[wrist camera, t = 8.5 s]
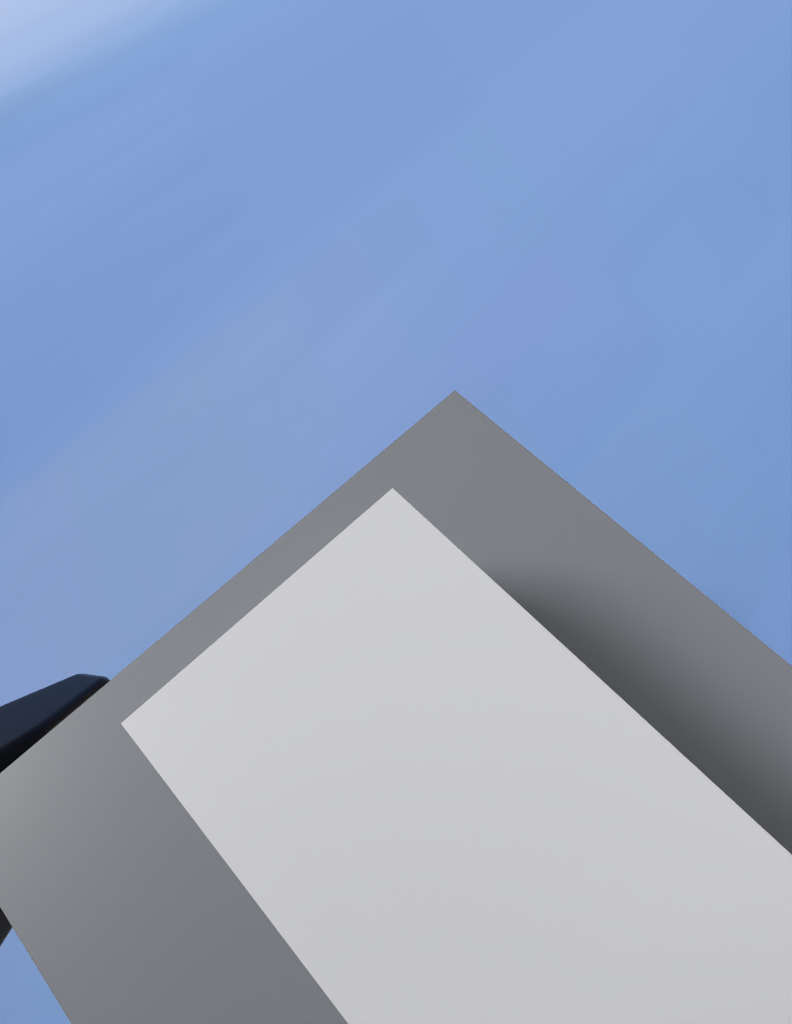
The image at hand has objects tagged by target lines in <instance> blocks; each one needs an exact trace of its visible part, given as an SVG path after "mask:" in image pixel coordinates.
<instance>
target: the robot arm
mask: <svg viewBox="0 0 792 1024" xmlns="http://www.w3.org/2000/svg"><path fill="white" fill-rule="evenodd" d="M109 681H110V680H109V679H108V678H107V677H103V676H96V675H88V674H76V675H74V676H71V677H69V678H67V679H64V680H62V681H60V682H57V683H55V684H52V685H50V686H48V687H45V688H43V689H41V690H38V691H36V692H34V693H31V694H29V695H27V696H24V697H22V698H19V699H17V700H15V701H12V702H10V703H8V704H5V705H3V706H1V707H0V773H1V772H2V771H4V770H5V769H6V768H7V767H8V766H9V765H11V764H12V763H13V762H14V761H15V760H17V759H18V758H19V757H20V756H21V755H23V754H24V753H25V752H26V751H27V750H28V749H30V748H31V747H32V746H33V745H34V744H36V743H37V742H38V741H39V740H40V739H42V738H43V737H44V736H45V735H46V734H47V733H49V732H50V731H51V730H52V729H53V728H55V727H56V726H57V725H58V724H59V723H61V722H62V721H63V720H64V719H65V718H66V717H68V716H69V715H70V714H71V713H72V712H74V711H75V710H76V709H77V708H78V707H80V706H81V705H82V704H83V703H84V702H85V701H87V700H88V699H89V698H90V697H91V696H93V695H94V694H95V693H96V692H97V691H99V690H100V689H101V688H102V687H103V686H104V685H106V684H107V683H108V682H109ZM11 929H12V926H11V924H10V922H9V921H8V919H7V917H6V916H5V914H4V913H3V911H2V909H1V908H0V946H1V944H2V943H3V941H4V940H5V938H6V936H7V935H8V933H9V932H10V930H11Z"/></svg>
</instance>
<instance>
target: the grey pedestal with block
mask: <svg viewBox="0 0 792 1024" xmlns="http://www.w3.org/2000/svg"><path fill="white" fill-rule="evenodd" d="M0 908H1V909H2V911H3V913H4V914H5V916H6V917H7V919H8V921H9V922H10V924H11V926H12V927H13V929H14V930H15V932H16V934H17V935H18V937H19V939H20V940H21V942H22V944H23V945H24V947H25V948H26V950H27V952H28V953H29V955H30V957H31V958H32V960H33V962H34V963H35V965H36V966H37V968H38V970H39V971H40V973H41V975H42V976H43V978H44V980H45V981H46V983H47V984H48V986H49V988H50V989H51V991H52V993H53V994H54V996H55V998H56V999H57V1001H58V1002H59V1004H60V1006H61V1007H62V1009H63V1011H64V1012H65V1014H66V1016H67V1017H68V1019H69V1020H70V1022H71V1024H792V666H791V665H790V664H789V663H787V662H786V661H785V660H784V659H782V658H781V657H780V656H779V655H778V654H776V653H775V652H774V651H773V650H771V649H770V648H769V647H768V646H767V645H765V644H764V643H763V642H762V641H760V640H759V639H758V638H757V637H756V636H754V635H753V634H752V633H751V632H749V631H748V630H747V629H746V628H745V627H743V626H742V625H741V624H740V623H738V622H737V621H736V620H735V619H734V618H732V617H731V616H730V615H729V614H727V613H726V612H725V611H724V610H723V609H721V608H720V607H719V606H718V605H716V604H715V603H714V602H713V601H712V600H710V599H709V598H708V597H707V596H705V595H704V594H703V593H702V592H701V591H699V590H698V589H697V588H696V587H694V586H693V585H692V584H691V583H690V582H688V581H687V580H686V579H685V578H683V577H682V576H681V575H680V574H679V573H677V572H676V571H675V570H674V569H672V568H671V567H670V566H669V565H668V564H666V563H665V562H664V561H663V560H661V559H660V558H659V557H658V556H657V555H655V554H654V553H653V552H652V551H650V550H649V549H648V548H647V547H646V546H644V545H643V544H642V543H641V542H639V541H638V540H637V539H636V538H635V537H633V536H632V535H631V534H630V533H628V532H627V531H626V530H625V529H624V528H622V527H621V526H620V525H619V524H618V523H616V522H615V521H614V520H613V519H611V518H610V517H609V516H608V515H607V514H605V513H604V512H603V511H602V510H600V509H599V508H598V507H597V506H596V505H594V504H593V503H592V502H591V501H589V500H588V499H587V498H586V497H585V496H583V495H582V494H581V493H580V492H578V491H577V490H576V489H575V488H574V487H572V486H571V485H570V484H569V483H567V482H566V481H565V480H564V479H563V478H561V477H560V476H559V475H558V474H556V473H555V472H554V471H553V470H552V469H550V468H549V467H548V466H547V465H545V464H544V463H543V462H542V461H541V460H539V459H538V458H537V457H536V456H534V455H533V454H532V453H531V452H530V451H528V450H527V449H526V448H525V447H523V446H522V445H521V444H520V443H519V442H517V441H516V440H515V439H514V438H512V437H511V436H510V435H509V434H508V433H506V432H505V431H504V430H503V429H501V428H500V427H499V426H498V425H497V424H495V423H494V422H493V421H492V420H490V419H489V418H488V417H487V416H486V415H484V414H483V413H482V412H481V411H479V410H478V409H477V408H476V407H475V406H473V405H472V404H471V403H470V402H468V401H467V400H466V399H465V398H464V397H462V396H461V395H460V394H459V393H457V392H456V391H454V392H452V393H451V394H450V395H449V396H448V397H446V398H445V399H444V400H443V401H442V402H441V403H439V404H438V405H437V406H436V407H435V408H433V409H432V410H431V411H430V412H429V413H427V414H426V415H425V416H424V417H423V418H422V419H420V420H419V421H418V422H417V423H416V424H414V425H413V426H412V427H411V428H410V429H408V430H407V431H406V432H405V433H404V434H403V435H401V436H400V437H399V438H398V439H397V440H395V441H394V442H393V443H392V444H391V445H389V446H388V447H387V448H386V449H385V450H384V451H382V452H381V453H380V454H379V455H378V456H376V457H375V458H374V459H373V460H372V461H370V462H369V463H368V464H367V465H366V466H365V467H363V468H362V469H361V470H360V471H359V472H357V473H356V474H355V475H354V476H353V477H351V478H350V479H349V480H348V481H347V482H346V483H344V484H343V485H342V486H341V487H340V488H338V489H337V490H336V491H335V492H334V493H332V494H331V495H330V496H329V497H328V498H327V499H325V500H324V501H323V502H322V503H321V504H319V505H318V506H317V507H316V508H315V509H313V510H312V511H311V512H310V513H309V514H308V515H306V516H305V517H304V518H303V519H302V520H300V521H299V522H298V523H297V524H296V525H294V526H293V527H292V528H291V529H290V530H289V531H287V532H286V533H285V534H284V535H283V536H281V537H280V538H279V539H278V540H277V541H275V542H274V543H273V544H272V545H271V546H270V547H268V548H267V549H266V550H265V551H264V552H262V553H261V554H260V555H259V556H258V557H256V558H255V559H254V560H253V561H252V562H251V563H249V564H248V565H247V566H246V567H245V568H243V569H242V570H241V571H240V572H239V573H237V574H236V575H235V576H234V577H233V578H232V579H230V580H229V581H228V582H227V583H226V584H224V585H223V586H222V587H221V588H220V589H218V590H217V591H216V592H215V593H214V594H213V595H211V596H210V597H209V598H208V599H207V600H205V601H204V602H203V603H202V604H201V605H199V606H198V607H197V608H196V609H195V610H194V611H192V612H191V613H190V614H189V615H188V616H186V617H185V618H184V619H183V620H182V621H180V622H179V623H178V624H177V625H176V626H175V627H173V628H172V629H171V630H170V631H169V632H167V633H166V634H165V635H164V636H163V637H161V638H160V639H159V640H158V641H157V642H156V643H154V644H153V645H152V646H151V647H150V648H148V649H147V650H146V651H145V652H144V653H142V654H141V655H140V656H139V657H138V658H137V659H135V660H134V661H133V662H132V663H131V664H129V665H128V666H127V667H126V668H125V669H123V670H122V671H121V672H120V673H119V674H118V675H116V676H115V677H114V678H113V679H112V680H110V681H109V682H108V683H107V684H106V685H104V686H103V687H102V688H101V689H100V690H99V691H97V692H96V693H95V694H94V695H93V696H91V697H90V698H89V699H88V700H87V701H85V702H84V703H83V704H82V705H81V706H80V707H78V708H77V709H76V710H75V711H74V712H72V713H71V714H70V715H69V716H68V717H66V718H65V719H64V720H63V721H62V722H61V723H59V724H58V725H57V726H56V727H55V728H53V729H52V730H51V731H50V732H49V733H47V734H46V735H45V736H44V737H43V738H42V739H40V740H39V741H38V742H37V743H36V744H34V745H33V746H32V747H31V748H30V749H28V750H27V751H26V752H25V753H24V754H23V755H21V756H20V757H19V758H18V759H17V760H15V761H14V762H13V763H12V764H11V765H9V766H8V767H7V768H6V769H5V770H4V771H2V772H1V773H0Z"/></svg>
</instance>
